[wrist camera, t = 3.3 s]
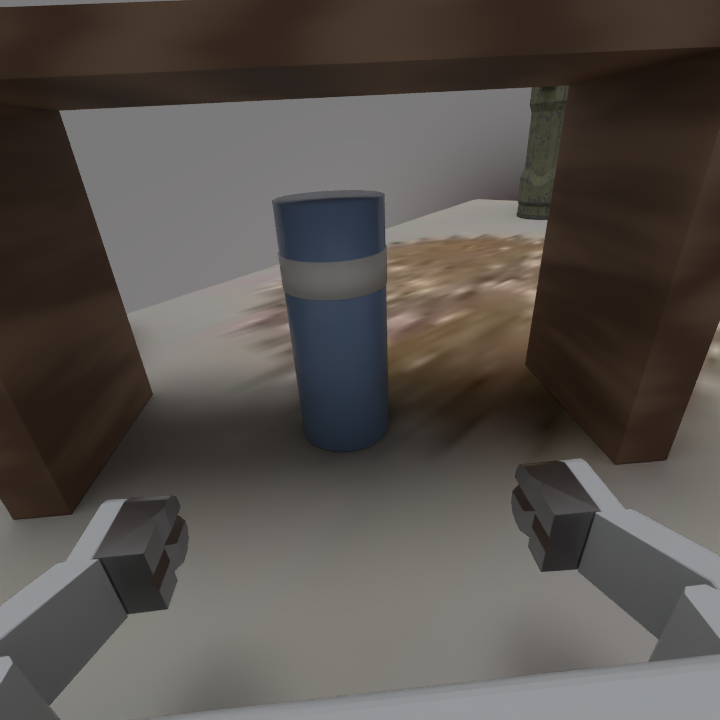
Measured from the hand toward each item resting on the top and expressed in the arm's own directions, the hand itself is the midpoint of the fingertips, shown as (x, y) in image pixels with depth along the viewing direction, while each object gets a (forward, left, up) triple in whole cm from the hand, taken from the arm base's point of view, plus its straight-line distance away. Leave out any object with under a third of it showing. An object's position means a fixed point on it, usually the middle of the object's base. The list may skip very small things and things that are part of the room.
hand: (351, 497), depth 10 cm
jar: (0, +12, -7) cm, 13 cm away
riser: (0, +12, -7) cm, 13 cm away
